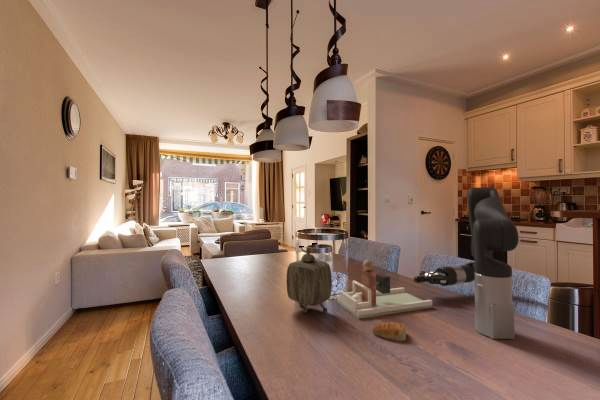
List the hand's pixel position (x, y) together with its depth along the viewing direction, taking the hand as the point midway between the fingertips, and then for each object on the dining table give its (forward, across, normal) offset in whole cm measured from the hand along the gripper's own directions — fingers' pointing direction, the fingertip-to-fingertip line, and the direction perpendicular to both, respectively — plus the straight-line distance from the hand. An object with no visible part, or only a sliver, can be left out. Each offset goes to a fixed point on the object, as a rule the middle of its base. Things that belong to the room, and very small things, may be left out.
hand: (415, 279), depth 113 cm
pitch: (+15, 0, +8) cm, 17 cm away
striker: (+18, 0, +7) cm, 19 cm away
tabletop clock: (+43, -3, +8) cm, 44 cm away
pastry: (+26, +22, +8) cm, 35 cm away
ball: (+26, 0, +5) cm, 26 cm away
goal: (+26, 0, +7) cm, 27 cm away
